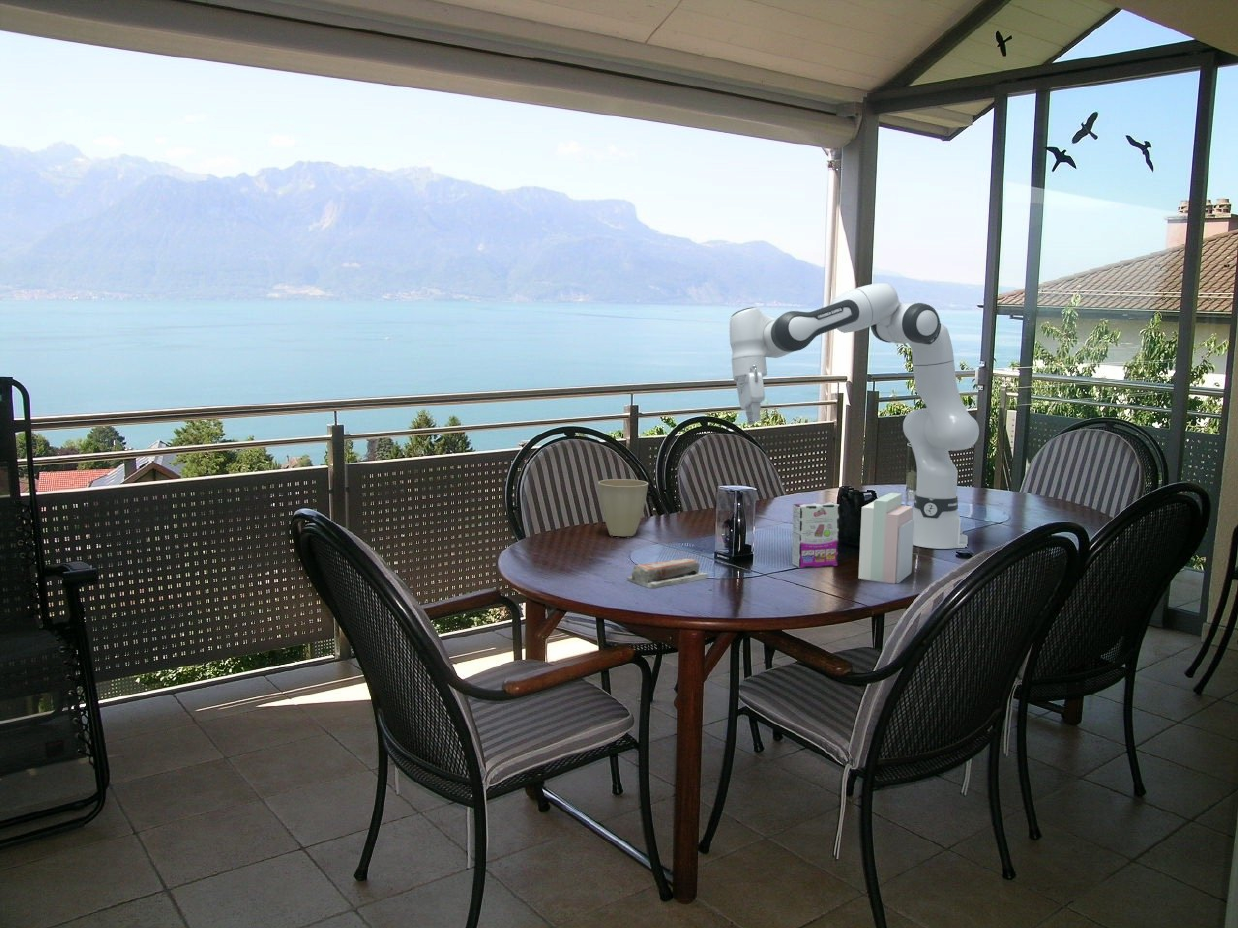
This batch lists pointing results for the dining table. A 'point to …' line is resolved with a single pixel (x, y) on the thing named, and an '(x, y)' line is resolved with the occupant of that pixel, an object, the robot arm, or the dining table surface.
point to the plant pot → (622, 504)
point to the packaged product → (667, 573)
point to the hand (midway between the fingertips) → (754, 423)
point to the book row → (886, 540)
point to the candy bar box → (815, 534)
